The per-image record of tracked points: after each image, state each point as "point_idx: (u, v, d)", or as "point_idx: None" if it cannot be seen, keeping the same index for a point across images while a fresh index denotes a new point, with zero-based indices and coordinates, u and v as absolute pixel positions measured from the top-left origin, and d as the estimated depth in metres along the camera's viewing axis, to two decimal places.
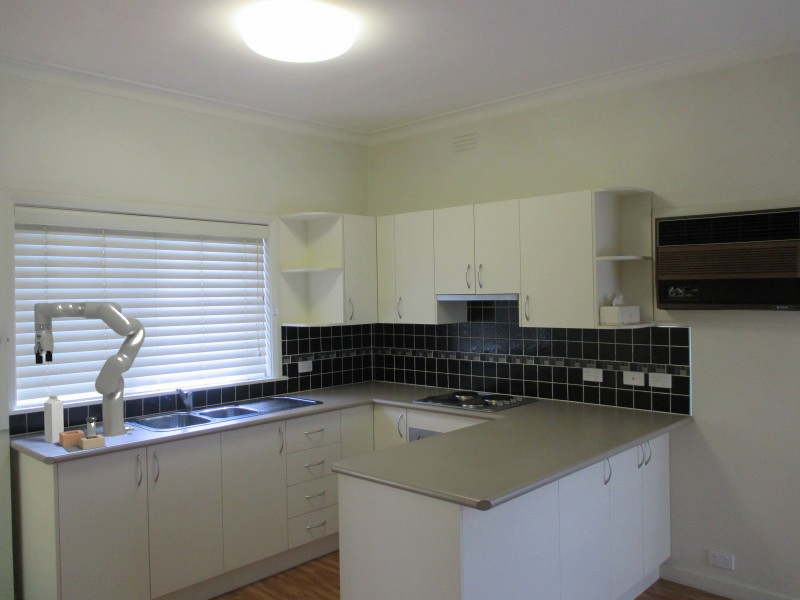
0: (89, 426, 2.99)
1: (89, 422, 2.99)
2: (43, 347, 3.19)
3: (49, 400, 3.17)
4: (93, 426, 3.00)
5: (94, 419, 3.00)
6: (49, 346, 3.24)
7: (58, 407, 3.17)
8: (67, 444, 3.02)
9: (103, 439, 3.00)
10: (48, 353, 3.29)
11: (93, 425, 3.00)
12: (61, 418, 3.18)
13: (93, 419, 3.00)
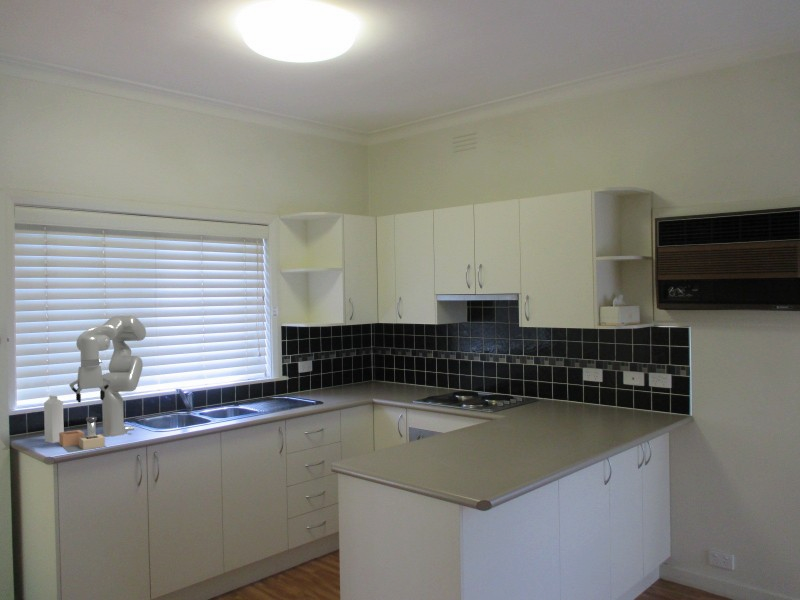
0: (89, 426, 2.99)
1: (89, 422, 2.99)
2: None
3: (49, 400, 3.17)
4: (93, 426, 3.00)
5: (94, 419, 3.00)
6: None
7: (58, 407, 3.17)
8: (67, 444, 3.02)
9: (103, 439, 3.00)
10: (79, 392, 2.98)
11: (93, 425, 3.00)
12: (61, 418, 3.18)
13: (93, 419, 3.00)
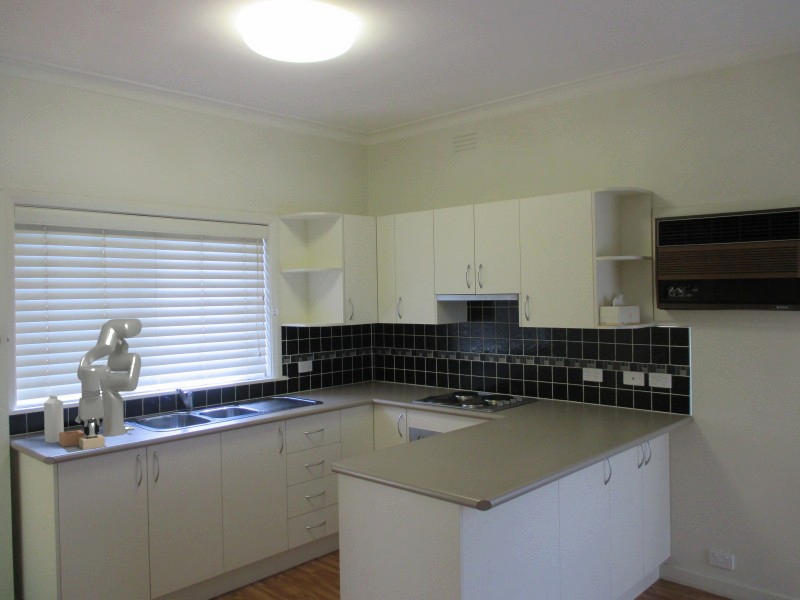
0: (89, 426, 2.99)
1: (89, 422, 2.99)
2: None
3: (49, 400, 3.17)
4: (93, 426, 3.00)
5: (94, 419, 3.00)
6: None
7: (58, 407, 3.17)
8: (67, 444, 3.02)
9: (103, 439, 3.00)
10: None
11: (93, 425, 3.00)
12: (61, 418, 3.18)
13: (93, 419, 3.00)
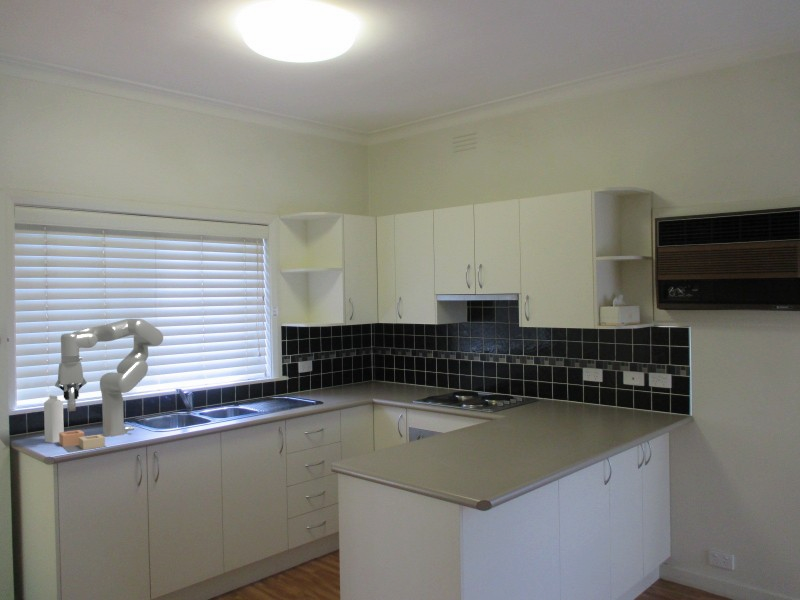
0: (69, 391, 3.05)
1: (69, 387, 3.05)
2: None
3: (49, 400, 3.17)
4: (73, 391, 3.06)
5: (74, 384, 3.06)
6: None
7: (58, 407, 3.17)
8: (67, 444, 3.02)
9: (103, 439, 3.00)
10: None
11: (72, 390, 3.06)
12: (61, 418, 3.18)
13: (73, 384, 3.05)
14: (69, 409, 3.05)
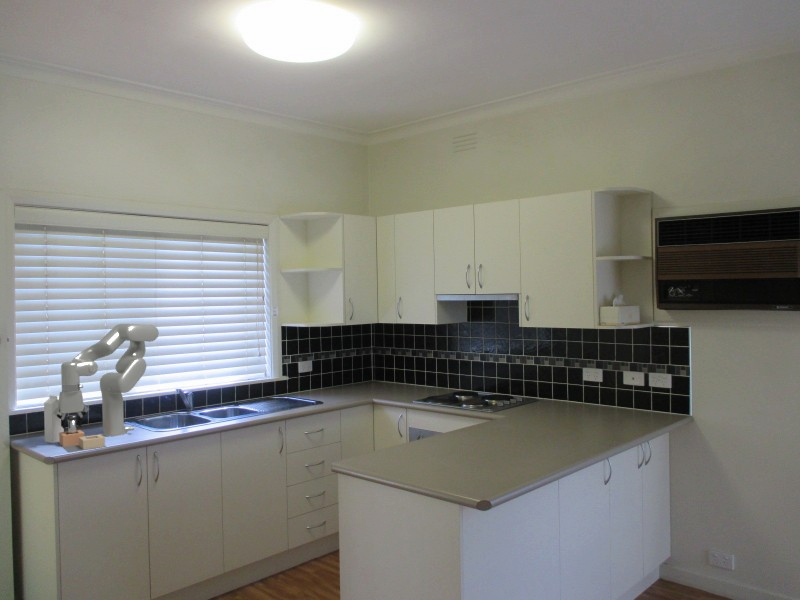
0: (70, 424, 3.05)
1: (70, 420, 3.05)
2: None
3: (49, 400, 3.17)
4: (74, 424, 3.06)
5: (75, 417, 3.06)
6: None
7: None
8: (67, 444, 3.02)
9: (103, 439, 3.00)
10: None
11: (74, 423, 3.06)
12: None
13: (74, 417, 3.06)
14: None
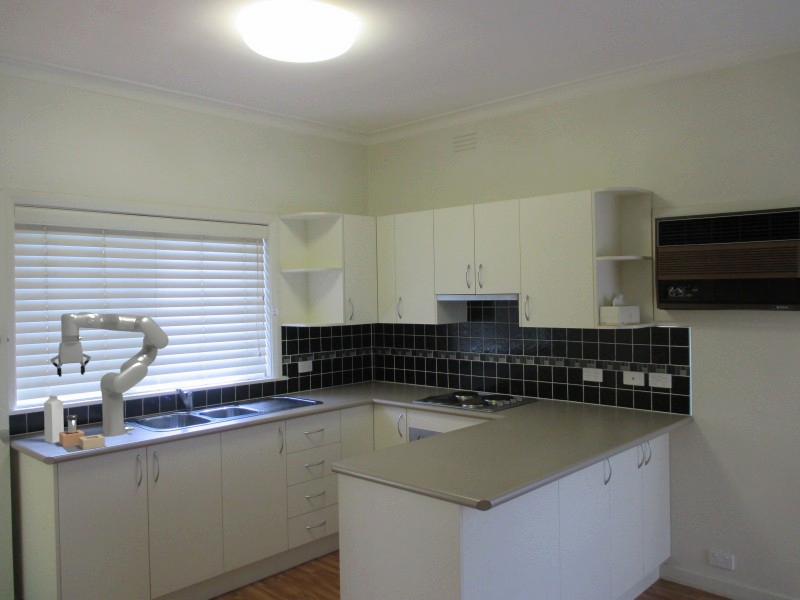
0: (70, 424, 3.05)
1: (70, 420, 3.05)
2: None
3: (49, 400, 3.17)
4: (74, 424, 3.06)
5: (75, 417, 3.06)
6: None
7: (58, 407, 3.17)
8: (67, 444, 3.02)
9: (103, 439, 3.00)
10: None
11: (73, 423, 3.06)
12: (61, 418, 3.18)
13: (74, 417, 3.06)
14: None
